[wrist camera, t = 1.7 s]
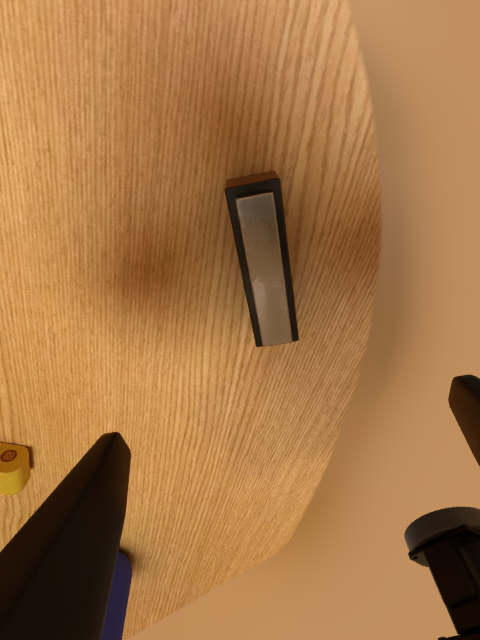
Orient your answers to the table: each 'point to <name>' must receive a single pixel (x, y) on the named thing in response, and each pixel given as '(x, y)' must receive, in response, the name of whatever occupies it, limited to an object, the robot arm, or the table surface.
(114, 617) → the mug
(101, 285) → the table surface
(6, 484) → the decorative sign
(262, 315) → the black and silver bar
